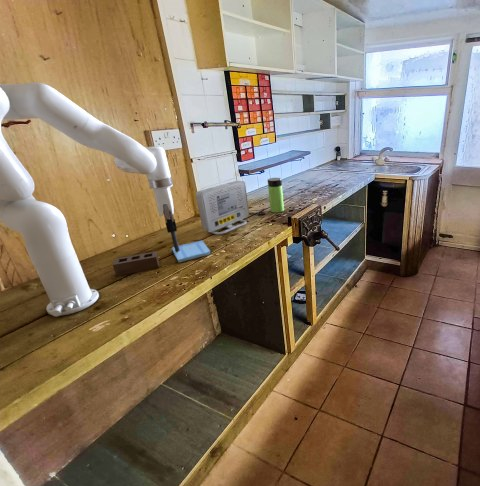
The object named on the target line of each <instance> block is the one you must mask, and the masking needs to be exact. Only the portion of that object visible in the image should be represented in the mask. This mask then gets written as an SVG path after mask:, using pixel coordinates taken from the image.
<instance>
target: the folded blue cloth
mask: <svg viewBox="0 0 480 486" xmlns="http://www.w3.org/2000/svg"><path fill="white" fill-rule="evenodd" d="M179 249H180V251H179V252H176V251H175V248H174V246H172V247H171V250H172V252H173V254H174V256H175V258H176V261H177V262H178V263H183V262H187V261H190V260H194V259H198V258H200V257H202V258H203V257H206V256H209V255H210V254H211V250H210V248H209V247H208V246H207V244H206V243H205V242H204V241H203V240H198V241H194V242H190V243H185V244H181V245H179Z"/></svg>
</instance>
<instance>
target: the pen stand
mask: <svg viewBox="0 0 480 486" xmlns="http://www.w3.org/2000/svg"><path fill="white" fill-rule="evenodd" d="M112 267H113V270H114V273H115V276H116V277H121V276H126V275H130V274H135V273H140V272H144V271H151V270H156V269H160V258H159V255H158V251H157V250H155V251H150V252H144V253H139V254H134V255H127V256H122V257H116V258H114V260H113V263H112Z"/></svg>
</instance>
